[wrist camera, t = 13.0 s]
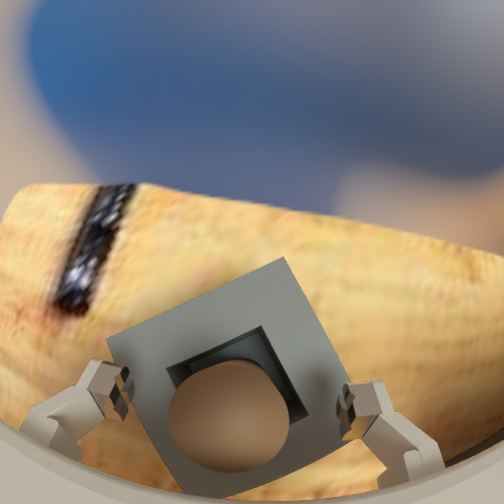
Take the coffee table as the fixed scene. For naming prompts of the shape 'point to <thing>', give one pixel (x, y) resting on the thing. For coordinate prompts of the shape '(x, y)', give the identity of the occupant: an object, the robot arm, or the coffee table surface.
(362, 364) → the coffee table surface
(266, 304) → the socket block
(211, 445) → the walnut peg
